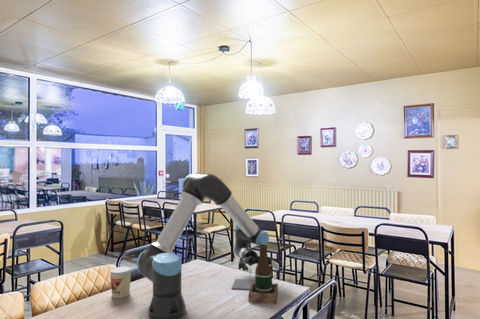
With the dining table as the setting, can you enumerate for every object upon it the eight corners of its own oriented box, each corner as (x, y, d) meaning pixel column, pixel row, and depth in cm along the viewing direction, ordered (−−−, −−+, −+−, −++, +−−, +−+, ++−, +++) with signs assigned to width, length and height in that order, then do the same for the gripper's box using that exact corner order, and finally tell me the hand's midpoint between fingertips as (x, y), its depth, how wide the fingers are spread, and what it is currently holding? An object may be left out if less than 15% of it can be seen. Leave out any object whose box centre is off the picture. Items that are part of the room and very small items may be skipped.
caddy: (248, 302, 141) (248, 293, 141) (252, 290, 153) (252, 282, 153) (276, 304, 139) (276, 294, 139) (277, 292, 151) (277, 284, 151)
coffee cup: (105, 296, 148) (105, 271, 148) (121, 289, 156) (121, 265, 156) (119, 300, 144) (119, 274, 144) (135, 292, 152) (135, 267, 152)
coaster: (231, 289, 155) (231, 287, 155) (235, 279, 167) (235, 278, 167) (255, 290, 153) (255, 289, 153) (258, 281, 165) (258, 279, 165)
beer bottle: (271, 301, 141) (270, 247, 141) (254, 300, 143) (253, 247, 143) (273, 294, 149) (272, 243, 149) (256, 293, 150) (256, 242, 150)
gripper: (270, 260, 170) (289, 273, 149) (225, 266, 161) (239, 280, 141) (270, 246, 170) (288, 258, 150) (225, 251, 161) (239, 264, 141)
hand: (264, 269), depth 145 cm, fingers open, 13 cm apart
